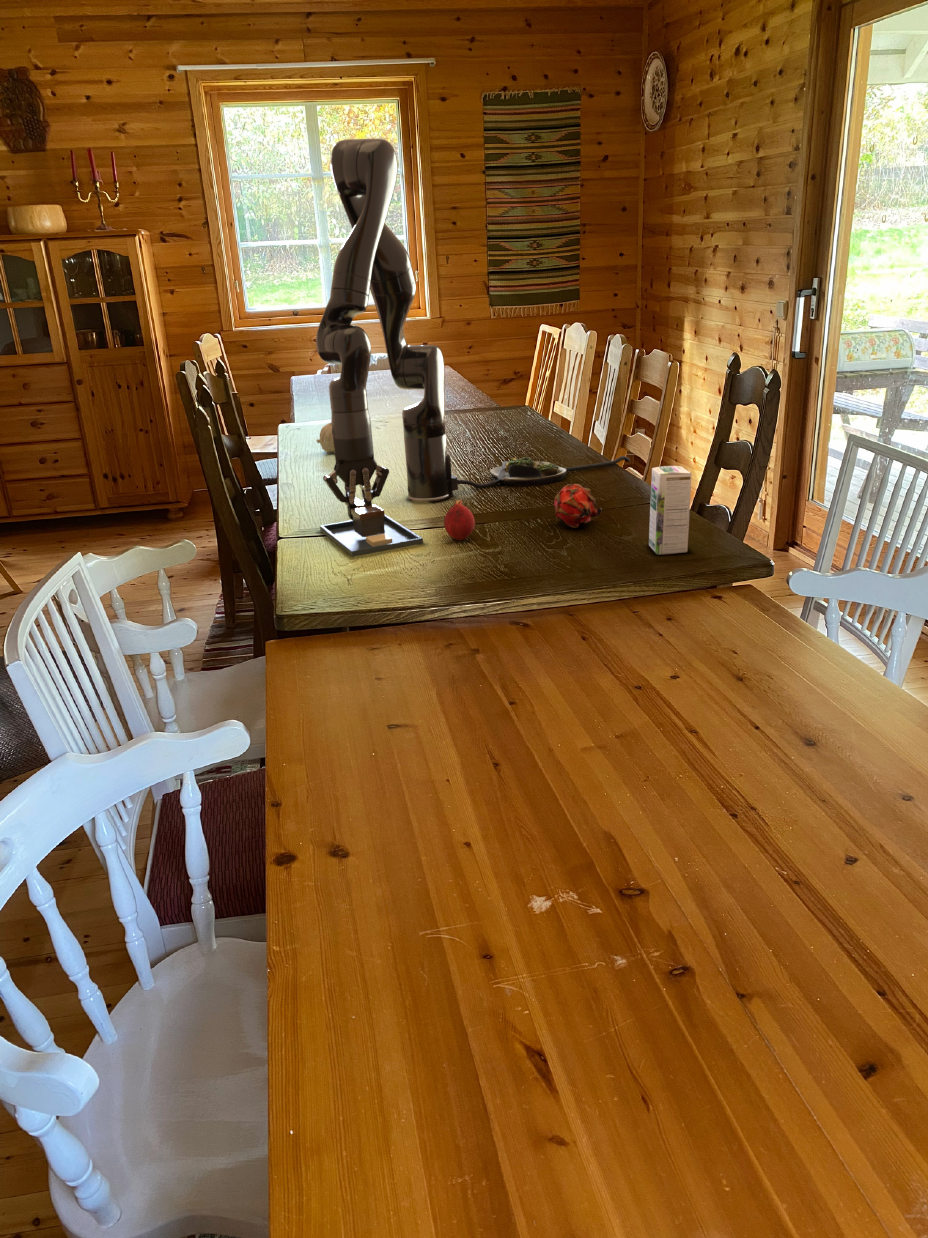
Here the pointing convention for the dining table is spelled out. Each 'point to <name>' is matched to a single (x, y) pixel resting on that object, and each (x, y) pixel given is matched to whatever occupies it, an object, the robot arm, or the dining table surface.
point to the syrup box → (669, 510)
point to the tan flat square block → (378, 540)
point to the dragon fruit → (575, 505)
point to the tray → (357, 544)
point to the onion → (459, 521)
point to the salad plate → (527, 472)
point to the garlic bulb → (326, 439)
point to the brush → (367, 519)
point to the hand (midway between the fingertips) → (361, 519)
